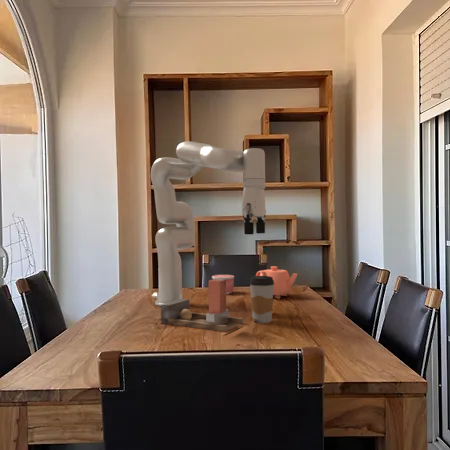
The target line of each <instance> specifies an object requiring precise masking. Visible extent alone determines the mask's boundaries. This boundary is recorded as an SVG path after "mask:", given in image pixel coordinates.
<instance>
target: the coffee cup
mask: <svg viewBox="0 0 450 450" xmlns="http://www.w3.org/2000/svg"><path fill="white" fill-rule="evenodd" d="M273 285H274V280H273V277H270V276H256V275H254V276H251V277H250V279H249V288H250V304H251V305H250V306H251V314H252V315H251V316H252V319H253V323H256V324H268V323H271V321H272V318H273V317H272V315H273V308H274V307H273V304H274V303H273V302H274V295H273Z"/></svg>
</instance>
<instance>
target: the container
mask: <svg viewBox="0 0 450 450" xmlns="http://www.w3.org/2000/svg"><path fill="white" fill-rule="evenodd" d="M214 279H221V280H226V295H230V294H229V293H231V294H232V292H233V290H234V286H235V285H234V284H235V280H234V279H235V276H234V275H232V274H214V275H212V276H211V280H214Z"/></svg>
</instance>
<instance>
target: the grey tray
mask: <svg viewBox="0 0 450 450" xmlns="http://www.w3.org/2000/svg"><path fill="white" fill-rule="evenodd" d="M183 309H189V310H190V299H188V298H182V299H179V300H176V301H172V302H169V303H165V304H161V306H160V324H166V325H173V326H180V327H188V328H194V329H201V330H207V331H208V330H210V331H217V332H227V331H229V330H232V329H233V330H232V331H230V332H227V333H225V334H224V335H225V336H226V335H227V336H228V335H229V334H231V333H233V332H235V331H238V330H239V329H242V328H243V327H244V325H243V324H244V318H242V317H235V316H229V322H227V323H225V324H222V325H220V324H212V323H206V314H207V313H201V312H200V313H199V312H192V311H191V313H192V317H191V319H190V320H189V321H188V320H182V319H181V318H180V312H181V311H182V310H183ZM240 325H243V326H240ZM238 326H240V327H239V328H236V327H238ZM234 328H236V329H234Z"/></svg>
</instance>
